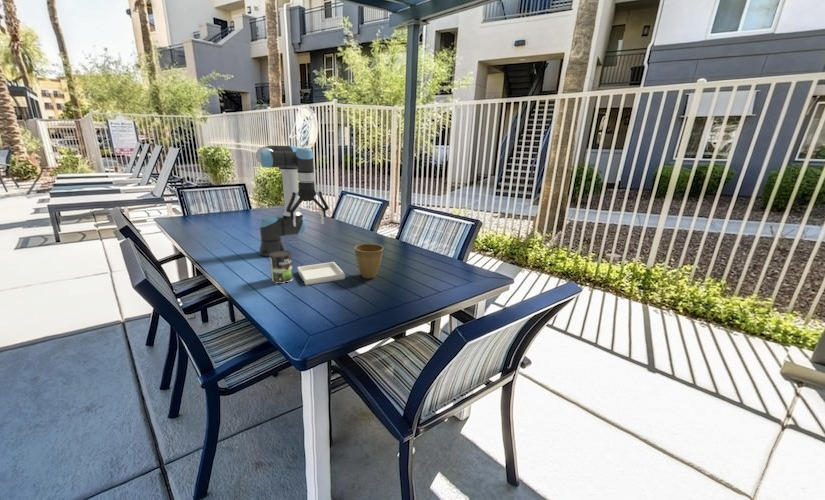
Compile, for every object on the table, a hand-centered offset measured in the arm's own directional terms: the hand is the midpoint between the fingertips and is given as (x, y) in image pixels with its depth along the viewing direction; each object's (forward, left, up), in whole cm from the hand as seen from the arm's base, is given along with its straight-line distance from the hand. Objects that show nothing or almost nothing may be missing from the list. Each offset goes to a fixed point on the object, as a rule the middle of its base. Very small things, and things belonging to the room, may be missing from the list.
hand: (308, 224), depth 170 cm
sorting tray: (0, +5, -28) cm, 28 cm away
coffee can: (-2, -14, -28) cm, 32 cm away
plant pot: (+11, +28, -28) cm, 41 cm away
